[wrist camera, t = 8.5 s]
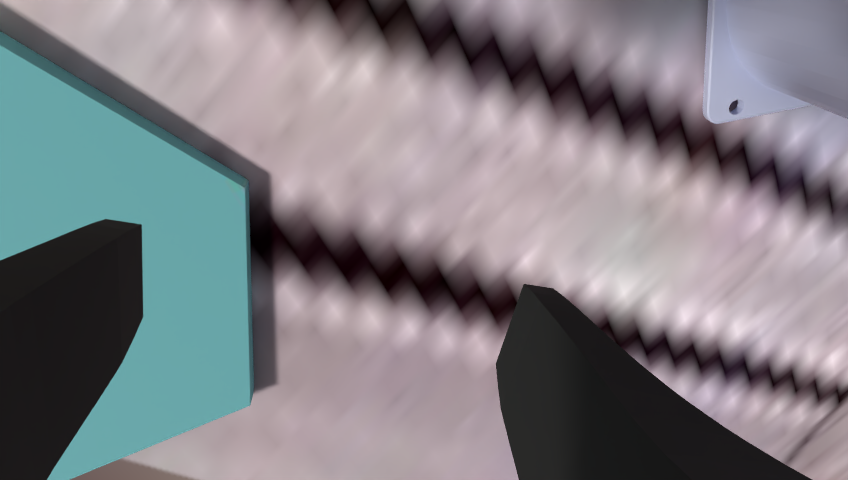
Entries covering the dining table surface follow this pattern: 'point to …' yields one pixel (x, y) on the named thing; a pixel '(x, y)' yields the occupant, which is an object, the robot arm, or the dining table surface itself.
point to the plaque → (161, 249)
